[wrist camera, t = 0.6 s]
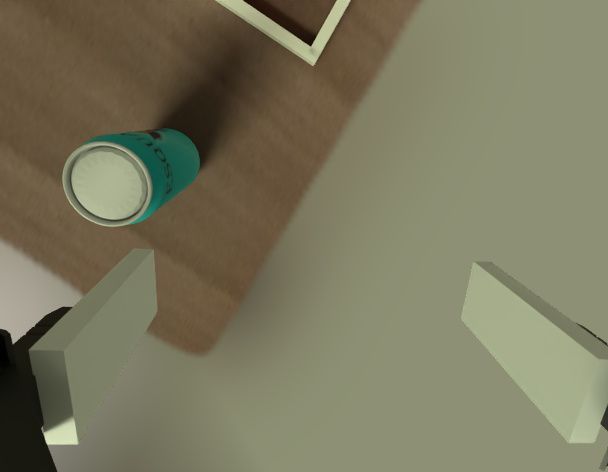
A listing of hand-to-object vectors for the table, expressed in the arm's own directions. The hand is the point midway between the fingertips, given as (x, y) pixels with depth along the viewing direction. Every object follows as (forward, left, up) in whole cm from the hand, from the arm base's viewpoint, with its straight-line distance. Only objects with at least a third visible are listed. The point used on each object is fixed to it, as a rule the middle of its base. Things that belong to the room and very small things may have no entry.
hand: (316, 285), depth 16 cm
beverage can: (-4, -11, -24) cm, 27 cm away
